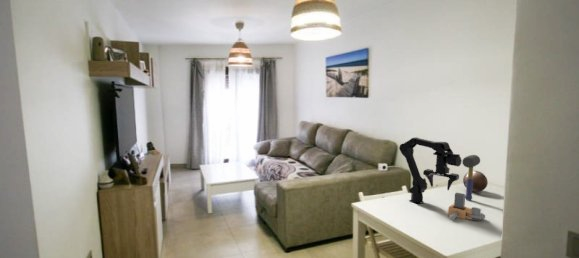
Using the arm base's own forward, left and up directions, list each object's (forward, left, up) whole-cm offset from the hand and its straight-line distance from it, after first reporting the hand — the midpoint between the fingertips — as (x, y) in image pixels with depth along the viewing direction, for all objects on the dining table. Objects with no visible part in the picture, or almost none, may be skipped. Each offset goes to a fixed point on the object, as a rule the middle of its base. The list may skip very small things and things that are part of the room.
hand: (439, 188), depth 184 cm
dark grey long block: (+11, +3, -13) cm, 17 cm away
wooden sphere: (-13, +53, -13) cm, 56 cm away
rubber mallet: (-3, +32, -13) cm, 35 cm away
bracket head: (+16, +1, -13) cm, 21 cm away
